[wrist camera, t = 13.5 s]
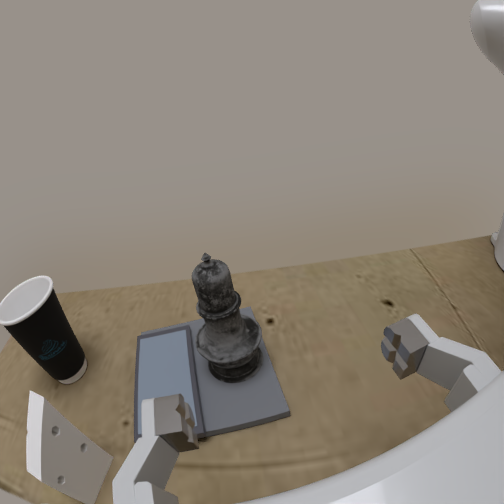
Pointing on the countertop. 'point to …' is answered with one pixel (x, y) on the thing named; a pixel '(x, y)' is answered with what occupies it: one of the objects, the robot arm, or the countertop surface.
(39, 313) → the dixie cup
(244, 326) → the stone finial ornament
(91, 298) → the countertop surface
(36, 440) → the white angled block
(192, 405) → the phone
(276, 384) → the mat
